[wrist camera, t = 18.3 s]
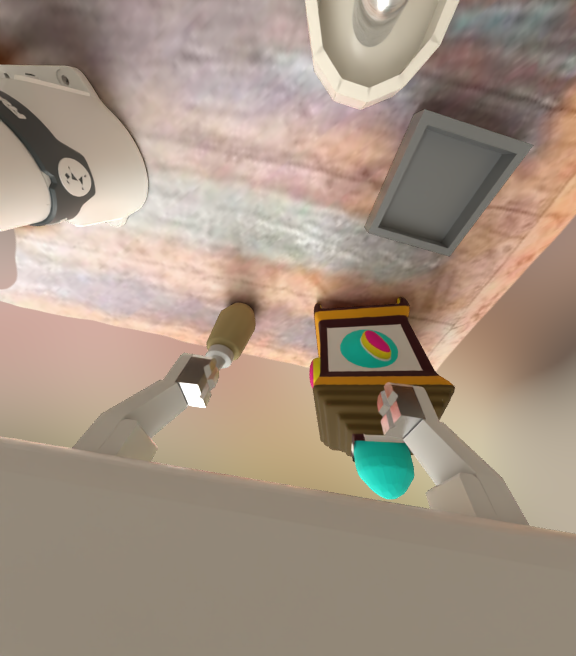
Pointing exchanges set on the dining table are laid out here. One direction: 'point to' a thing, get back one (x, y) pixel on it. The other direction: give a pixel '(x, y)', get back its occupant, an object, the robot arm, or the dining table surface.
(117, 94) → the dining table surface
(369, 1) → the pebble cup
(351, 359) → the decorative lantern
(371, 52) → the bowl
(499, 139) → the tray
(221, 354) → the squeeze bottle
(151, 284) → the dining table surface
